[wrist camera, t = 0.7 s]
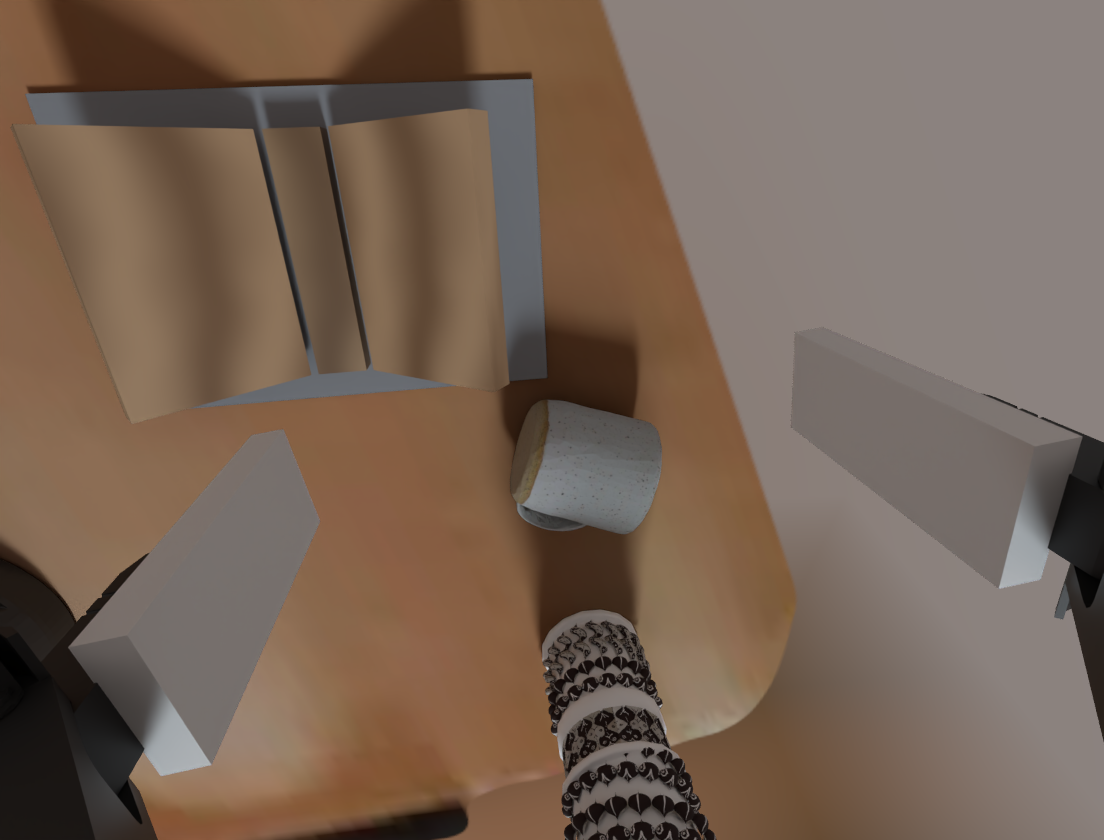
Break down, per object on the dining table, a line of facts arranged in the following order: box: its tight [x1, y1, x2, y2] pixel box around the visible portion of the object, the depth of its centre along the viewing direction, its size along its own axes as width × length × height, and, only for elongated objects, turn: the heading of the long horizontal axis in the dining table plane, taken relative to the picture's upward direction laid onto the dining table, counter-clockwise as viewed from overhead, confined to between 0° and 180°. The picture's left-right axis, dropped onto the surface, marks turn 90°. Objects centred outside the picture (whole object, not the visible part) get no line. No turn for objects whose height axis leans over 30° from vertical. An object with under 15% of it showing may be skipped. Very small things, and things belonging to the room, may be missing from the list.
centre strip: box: [262, 127, 371, 374], centre depth 31 cm, size 3×13×2 cm, turn 3°
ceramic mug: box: [510, 399, 662, 534], centre depth 36 cm, size 11×8×8 cm
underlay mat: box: [25, 79, 547, 408], centre depth 32 cm, size 25×17×1 cm
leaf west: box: [11, 124, 311, 424], centre depth 27 cm, size 9×13×1 cm
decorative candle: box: [542, 609, 716, 840], centre depth 36 cm, size 9×9×25 cm
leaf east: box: [328, 109, 509, 392], centre depth 29 cm, size 9×13×1 cm
